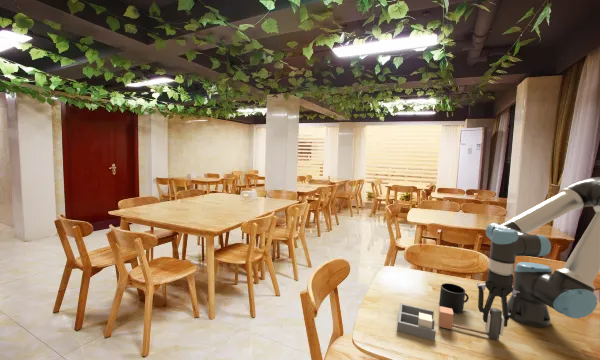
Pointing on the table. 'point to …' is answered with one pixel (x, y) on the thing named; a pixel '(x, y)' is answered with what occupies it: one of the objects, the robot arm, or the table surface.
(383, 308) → the table surface
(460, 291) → the mug
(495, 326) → the block
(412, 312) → the lane shelf
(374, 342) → the table surface
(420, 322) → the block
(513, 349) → the table surface
